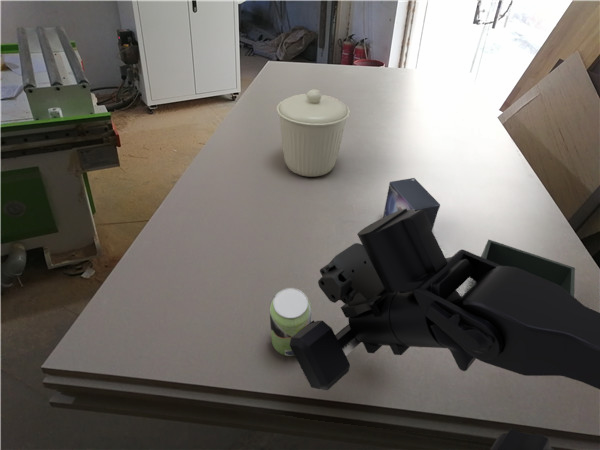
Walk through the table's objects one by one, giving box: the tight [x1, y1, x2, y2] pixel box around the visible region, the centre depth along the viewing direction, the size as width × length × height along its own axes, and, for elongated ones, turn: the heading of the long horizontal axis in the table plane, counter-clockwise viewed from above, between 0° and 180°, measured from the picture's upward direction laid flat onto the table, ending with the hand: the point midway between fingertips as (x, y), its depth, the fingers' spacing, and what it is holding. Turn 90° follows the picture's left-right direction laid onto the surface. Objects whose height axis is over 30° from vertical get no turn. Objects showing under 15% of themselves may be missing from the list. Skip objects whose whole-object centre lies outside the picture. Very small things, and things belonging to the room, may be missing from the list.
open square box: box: [470, 239, 576, 298], centre depth 72 cm, size 17×15×6 cm
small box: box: [382, 177, 441, 230], centre depth 86 cm, size 11×6×10 cm, turn 17°
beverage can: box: [269, 287, 313, 357], centre depth 61 cm, size 6×7×12 cm
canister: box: [276, 89, 351, 178], centre depth 103 cm, size 18×18×21 cm
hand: (322, 320), depth 54 cm, fingers open, 9 cm apart
